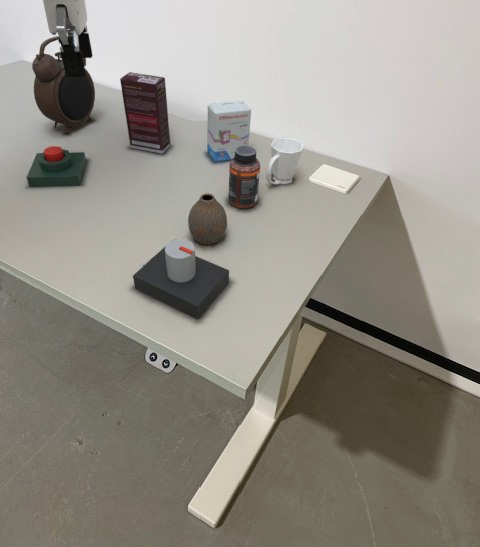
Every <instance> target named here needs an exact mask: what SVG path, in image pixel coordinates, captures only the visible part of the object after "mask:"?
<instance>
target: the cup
mask: <svg viewBox="0 0 480 547" xmlns="http://www.w3.org/2000/svg"><path fill="white" fill-rule="evenodd" d="M304 145H305V144H303V143H302V142H301V141H299V140H298V139H296V138H290V137H279V138H276V139H275V138H274V139H273V140H272V141H271V144H270V156H271V157H270V158H271V159H270V161H269V164H268V166H267V169H266V180H267V182H268V183H270V184H273V185H279V184H281V185H288V184H291V183H292V182H293V178H294V175H295V173H296V171H297V168H298V165H299V161H300V159H301V155H302V152H303V148H304V147H305V146H304ZM271 174H272V175H273V177H272V180H273V181H272V180H271Z"/></svg>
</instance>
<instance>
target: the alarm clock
mask: <svg viewBox="0 0 480 547" xmlns="http://www.w3.org/2000/svg"><path fill="white" fill-rule="evenodd" d="M58 38H59V35H57V36H56V35H55V36H52V37H49V38H47V39H45V40H44V41H42V43H41V44H40V46H39V52H38V53H36V54H35V57H34V59H33V60H32V63H31V68H32V72H33V73H34V75H35V78H34V80H33V81H34V82H33V96H34V99H35V103H36V106H37V108H38V110H39V112H41V114H42V115H43V116H44V117H45V118H46V119H48V120H51V121H54V126H53V128H54V129H57V125H58V124H60V125H61V124H62V125H65V131H64V133H65V134H68V133H69V128H70V127H71V126H72V127H73V126H79V125H81V124H83V123H84V122H86V121H87V119H88V120H89V122H92V121H93V119H92V118H91V116H90V115H92V114H91V113H92V112H93V109H94V105H95V100H96V89H95V83H94V81H93V78H92V75H91V74H90V72H89V70H87V68H85V71H86V76H85V77H67V76H66V74H65V69H64V65H63V61H62V57H61V52H60V51H57V52H55V53H54V56H55V57H56V58H55V57H54V56H53V55H51V54H49V53H45V49H46V47H47V46H49V44H51V43H53V42H56V41H58V40H59V39H58ZM83 61H84V66H85V67H86V66H87V58H83Z"/></svg>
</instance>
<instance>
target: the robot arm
mask: <svg viewBox="0 0 480 547" xmlns="http://www.w3.org/2000/svg"><path fill="white" fill-rule="evenodd" d="M42 2H43V8H44V12H45V18H46V22H47V27H48V31H49V33H50V34H51V35H52V36H56V35H57V36H59V38H58V39H59V40H57V41H58V45H59V52H61V57H62V59H61V60H62V61H63V65H64V69H65V74H66V76H67V77H85V76H86V71H85V69H86V66H84V61H83V58H86V59H92V58H93V50H92V45H91V40H90V34H89V32H88V26H87V22H88V14H87V5H86V0H42Z"/></svg>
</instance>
